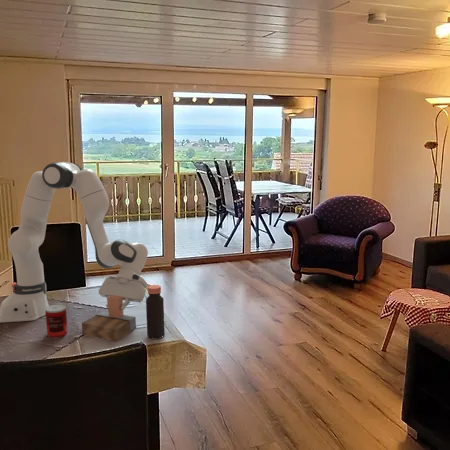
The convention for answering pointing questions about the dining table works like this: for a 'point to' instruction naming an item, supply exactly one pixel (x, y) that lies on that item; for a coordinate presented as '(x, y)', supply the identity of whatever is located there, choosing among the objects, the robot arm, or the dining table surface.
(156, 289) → the bottle
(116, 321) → the block
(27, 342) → the dining table surface
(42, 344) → the dining table surface
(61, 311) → the canned food
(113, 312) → the stub
